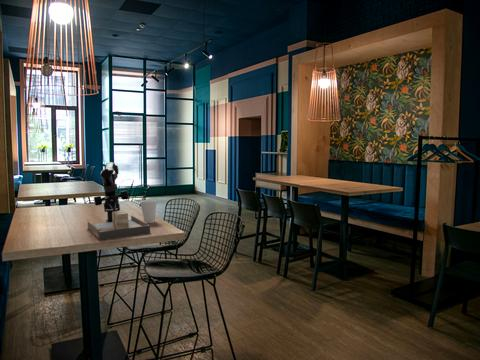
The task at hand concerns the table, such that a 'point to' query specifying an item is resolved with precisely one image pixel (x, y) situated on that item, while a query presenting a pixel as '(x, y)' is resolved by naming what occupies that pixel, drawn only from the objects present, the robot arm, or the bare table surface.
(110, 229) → the grey flat rectangular tray
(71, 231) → the table surface
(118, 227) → the birch brick
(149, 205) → the foam cup
